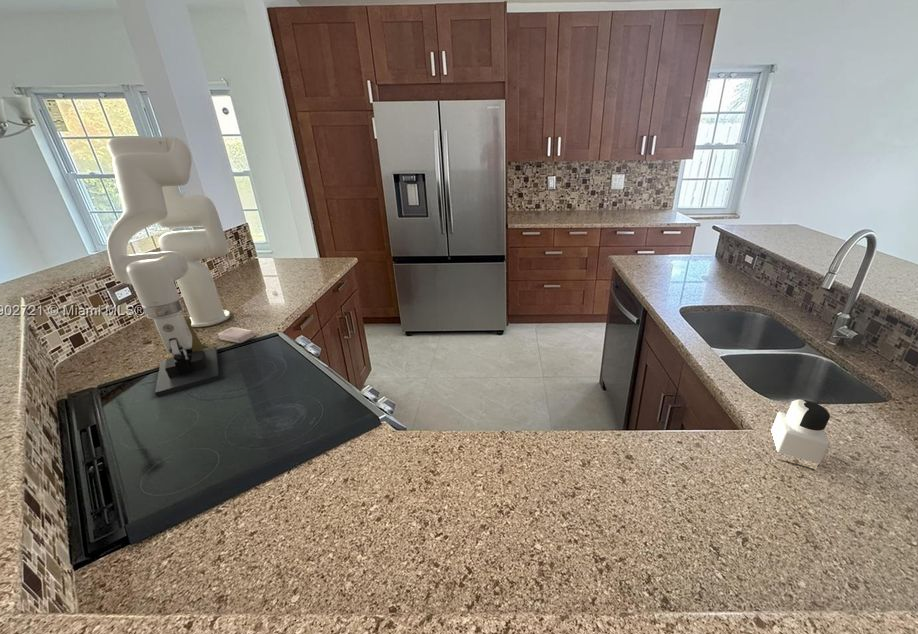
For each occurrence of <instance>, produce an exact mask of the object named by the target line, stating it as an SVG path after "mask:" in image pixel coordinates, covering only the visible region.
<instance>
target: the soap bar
mask: <svg viewBox="0 0 918 634" xmlns="http://www.w3.org/2000/svg"><path fill="white" fill-rule="evenodd" d="M217 335H218V338H219V340H222V341H226V342H232V343H236V344H242V343H245V342H246V341H248V340H250V339H253V338H254V337H255V334H254V330H251V329H245V328H240V327H235V326H230V327H228V328H227V329H225V330H222V331H220V332H218V334H217Z"/></svg>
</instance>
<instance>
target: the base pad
mask: <svg viewBox="0 0 918 634" xmlns="http://www.w3.org/2000/svg"><path fill="white" fill-rule="evenodd" d="M203 352H204V354H205V357H206V368H205V369H202V370H198V371H194V372H192V373H188V374H184V375H179V376H175V377H171V378H169V377H168V374H167V372H166V370H165V365H166V359H163V360H160V362H159V368H158V373H157V379H156V385H155V391H154V394H155V396H156V397H159V396H163V395H167V394H171V393H174V392H178V391H181V390H185V389H188V388H193V387H195V386H199V385H203V384H206V383H210V382H213V381H217V380H220V379H221V377H220V366H219V353H218V349H217V347H213V348H210V349H209V348H208V349H205V350H203Z"/></svg>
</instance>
